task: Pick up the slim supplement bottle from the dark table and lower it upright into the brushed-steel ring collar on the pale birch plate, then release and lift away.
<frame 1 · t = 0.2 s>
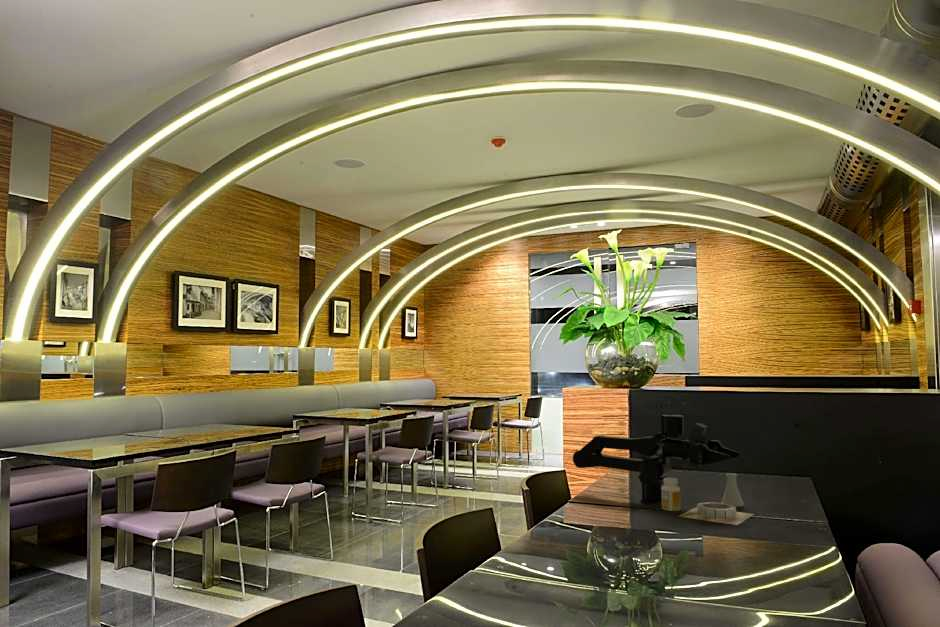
hand: (734, 456, 194), 16 cm above the table, tool horizontal, fingers open, 9 cm apart
flask: (732, 508, 201), on the table
steel ring collar: (716, 515, 186), resting on birch base plate
supplement bottle: (671, 513, 194), on the table
birch base plate: (716, 518, 186), on the table
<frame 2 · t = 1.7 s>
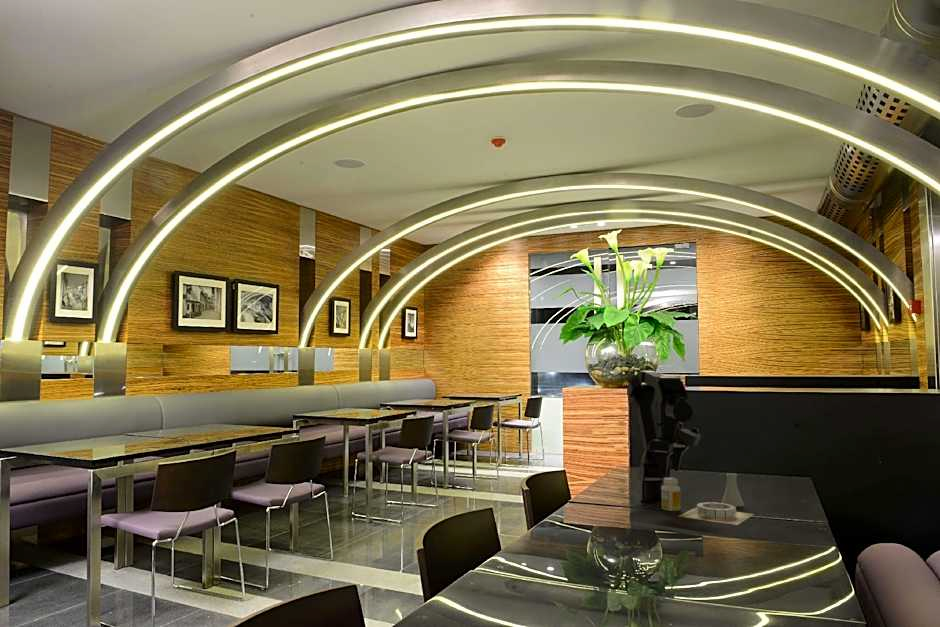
hand: (670, 472, 195), 11 cm above the table, tool pointing down, fingers open, 9 cm apart
nothing on the table moved.
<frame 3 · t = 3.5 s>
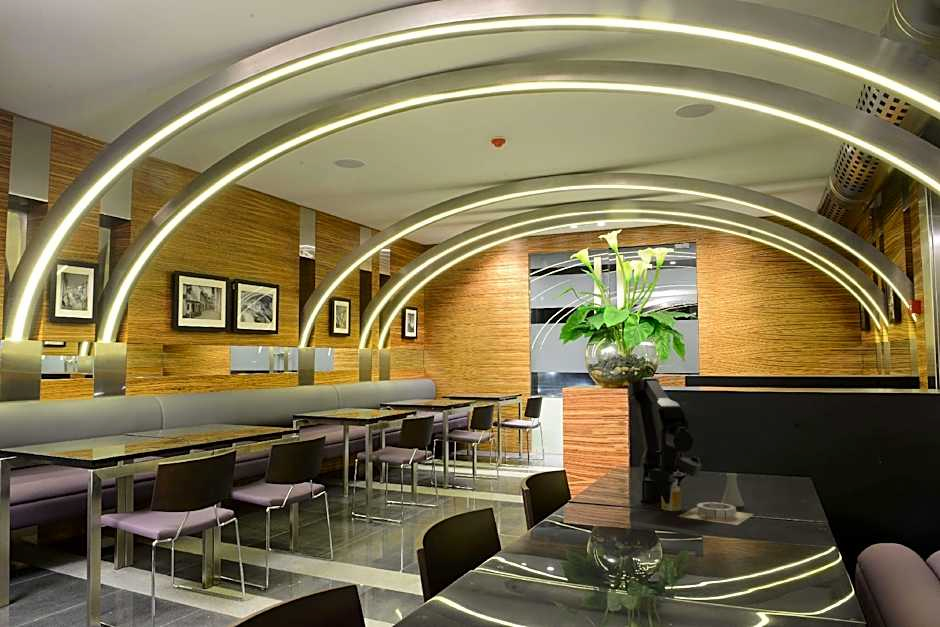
hand: (671, 501, 194), 3 cm above the table, tool pointing down, fingers closed on supplement bottle, 5 cm apart
supplement bottle: (671, 513, 194), on the table, touching gripper
everything else where it was.
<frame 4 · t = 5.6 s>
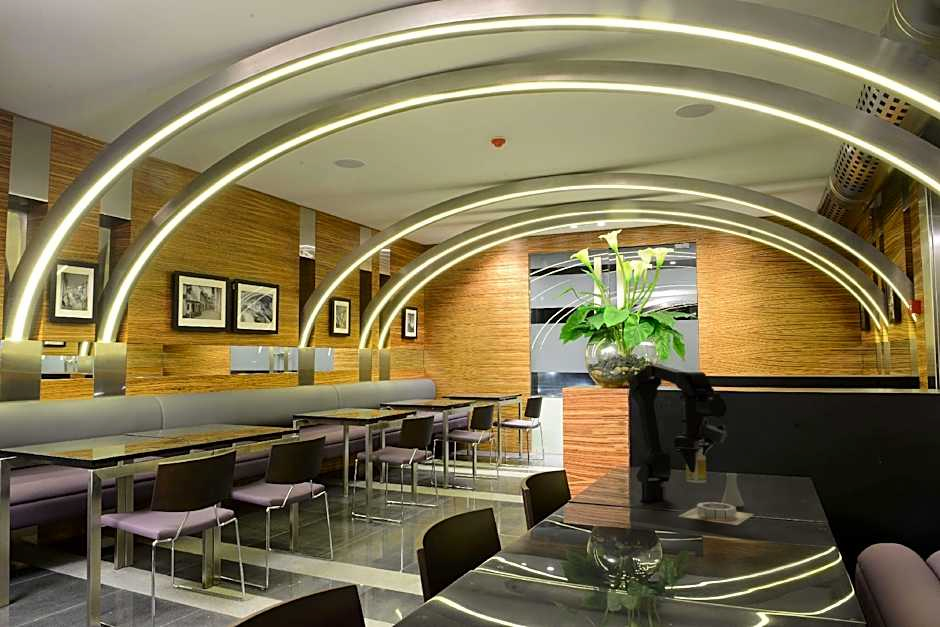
hand: (696, 470, 190), 13 cm above the table, tool pointing down, fingers closed on supplement bottle, 5 cm apart
supplement bottle: (696, 482, 190), point 10 cm above the table, touching gripper
everything else where it was.
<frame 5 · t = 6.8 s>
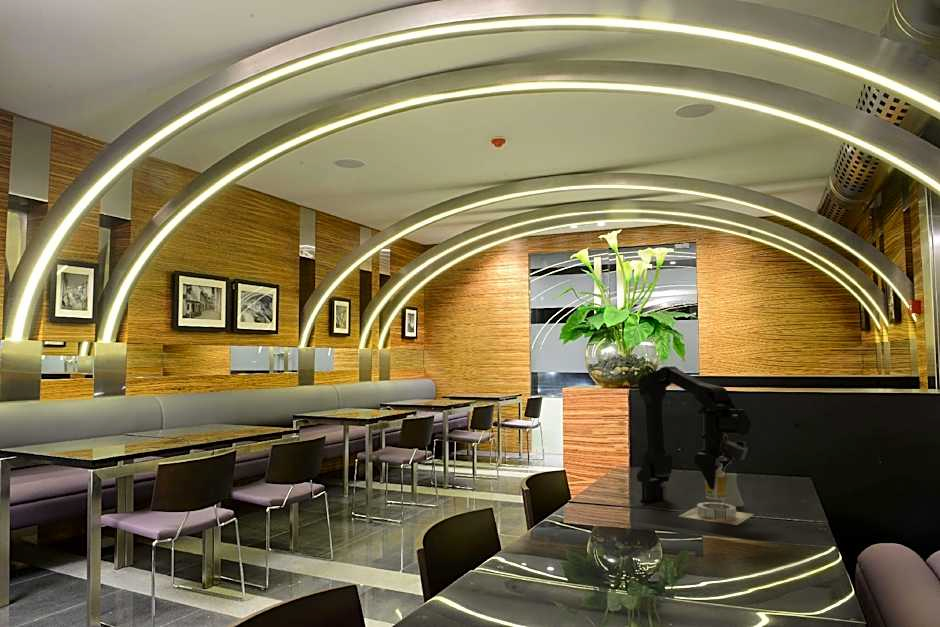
hand: (715, 487, 187), 9 cm above the table, tool pointing down, fingers closed on supplement bottle, 5 cm apart
supplement bottle: (715, 499, 187), point 5 cm above the table, touching gripper
everything else where it was.
when the fingers open (5 cm above the table, at t = 8.0 s): supplement bottle stays where it is, resting on birch base plate.
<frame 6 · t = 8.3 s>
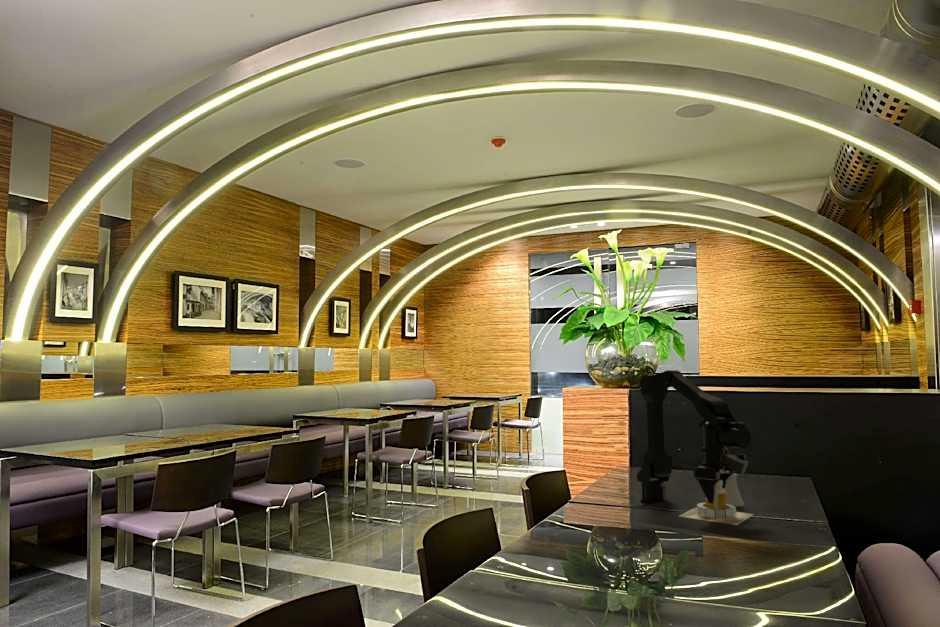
hand: (715, 500, 186), 5 cm above the table, tool pointing down, fingers open, 8 cm apart
supplement bottle: (715, 515, 186), point 1 cm above the table, touching birch base plate
everything else where it was.
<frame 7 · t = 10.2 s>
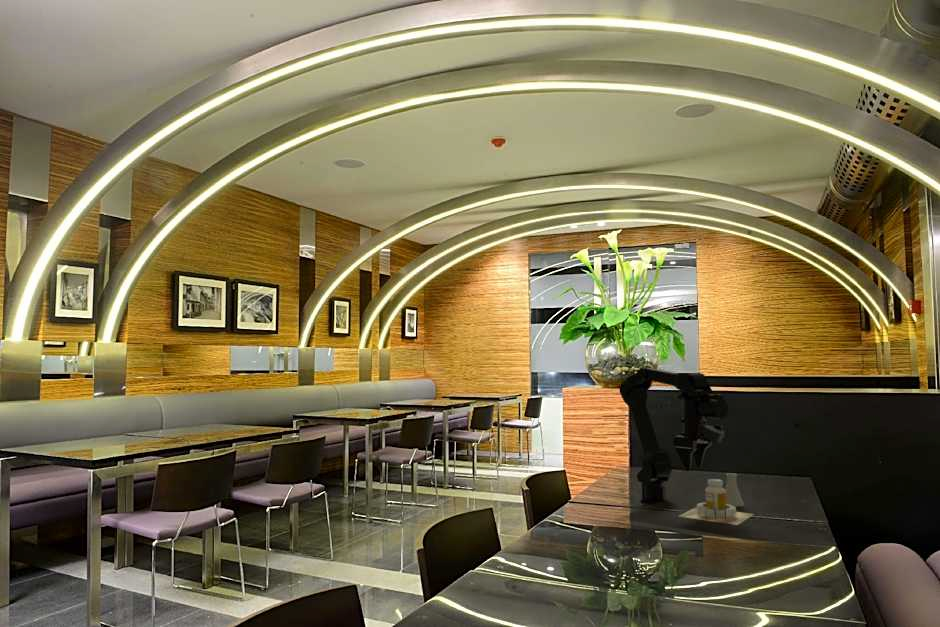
hand: (693, 468, 196), 12 cm above the table, tool pointing down, fingers open, 9 cm apart
nothing on the table moved.
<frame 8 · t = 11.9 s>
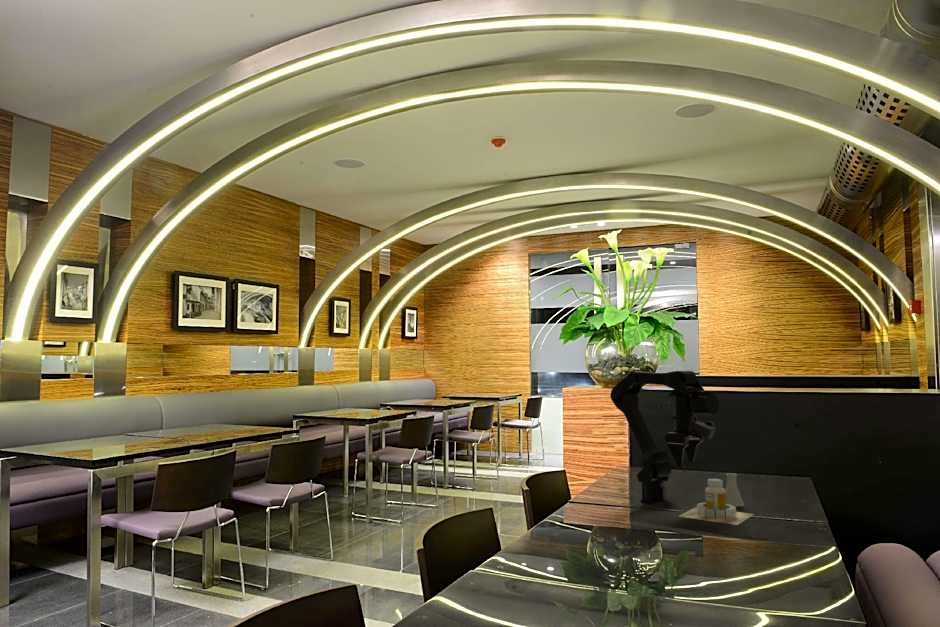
hand: (685, 464, 199), 13 cm above the table, tool pointing down, fingers open, 9 cm apart
nothing on the table moved.
at the end: supplement bottle 0.1 cm off-centre on the steel ring collar, point 0.0 cm above the steel ring collar's base; supplement bottle tilted 0°; the gripper is holding nothing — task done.
